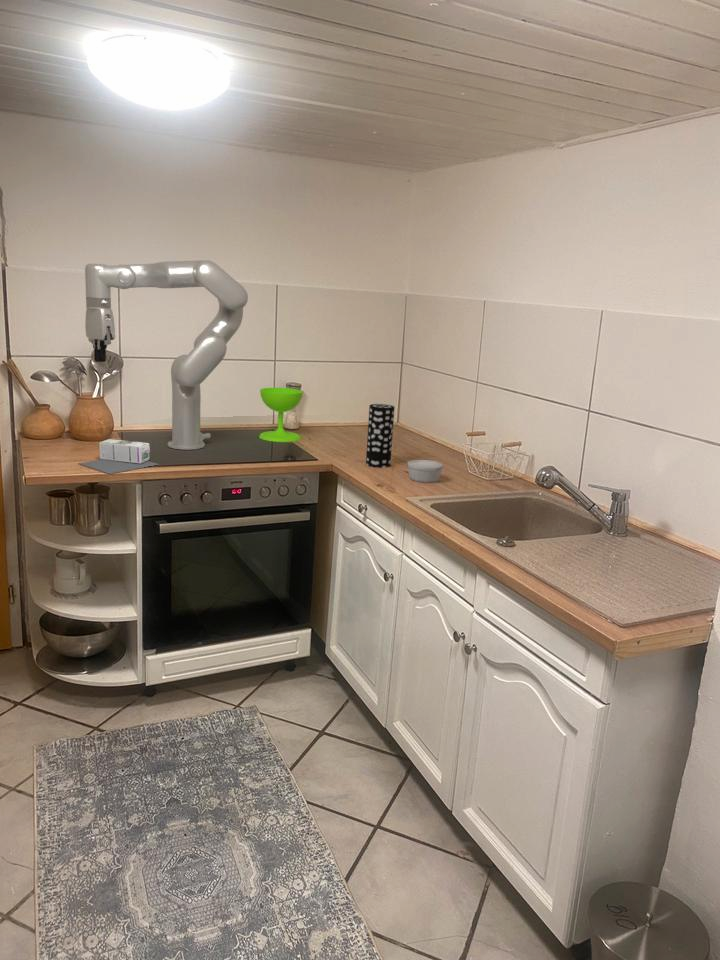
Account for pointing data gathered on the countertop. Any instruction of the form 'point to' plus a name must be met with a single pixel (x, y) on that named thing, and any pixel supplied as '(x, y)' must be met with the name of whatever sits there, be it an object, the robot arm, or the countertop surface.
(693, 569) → the countertop surface
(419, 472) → the ramekin
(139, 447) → the syrup box
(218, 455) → the countertop surface
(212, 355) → the robot arm
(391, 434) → the spotted tube
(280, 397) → the wineglass
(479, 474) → the countertop surface
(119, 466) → the mat
